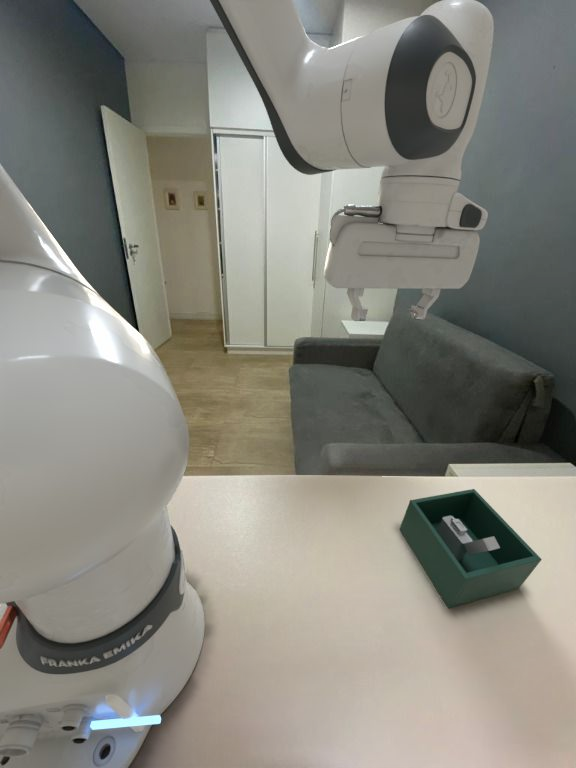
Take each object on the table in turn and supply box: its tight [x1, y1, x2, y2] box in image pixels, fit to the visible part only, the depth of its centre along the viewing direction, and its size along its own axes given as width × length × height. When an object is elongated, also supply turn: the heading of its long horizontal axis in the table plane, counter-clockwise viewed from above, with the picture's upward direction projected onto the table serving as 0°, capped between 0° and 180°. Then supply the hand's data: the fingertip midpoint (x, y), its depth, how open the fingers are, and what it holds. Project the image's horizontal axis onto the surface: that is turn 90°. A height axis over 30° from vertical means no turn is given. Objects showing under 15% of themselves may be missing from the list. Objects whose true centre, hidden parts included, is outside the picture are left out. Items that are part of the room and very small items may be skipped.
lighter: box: [437, 516, 500, 561], centre depth 42 cm, size 7×2×8 cm, turn 15°
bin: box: [399, 488, 543, 609], centre depth 43 cm, size 11×11×6 cm
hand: (388, 319), depth 44 cm, fingers open, 8 cm apart
